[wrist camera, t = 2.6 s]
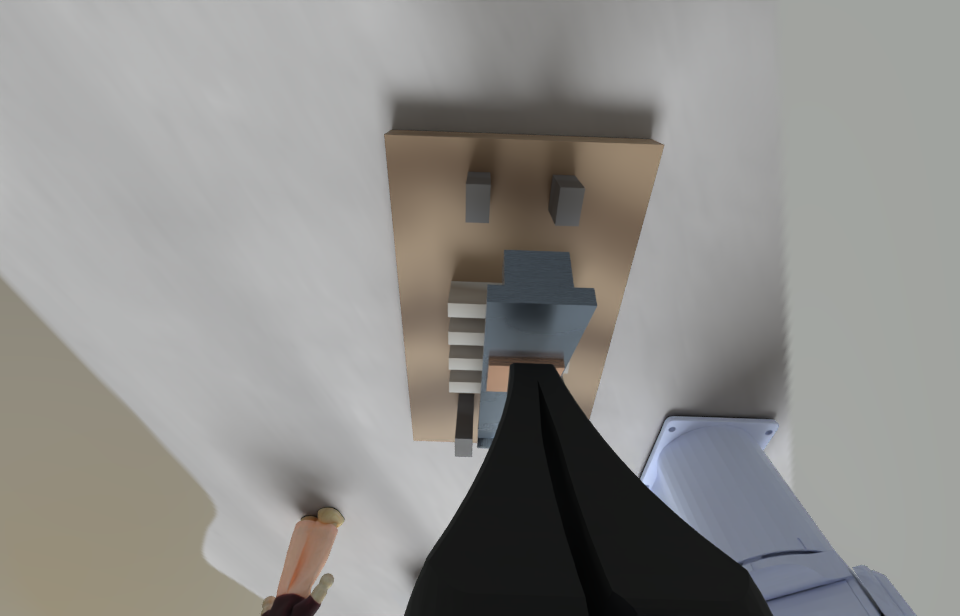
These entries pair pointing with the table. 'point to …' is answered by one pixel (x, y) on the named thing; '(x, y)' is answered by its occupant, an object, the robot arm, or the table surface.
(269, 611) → the grandmother figurine
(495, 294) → the bar
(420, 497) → the table surface
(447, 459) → the table surface
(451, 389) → the base
